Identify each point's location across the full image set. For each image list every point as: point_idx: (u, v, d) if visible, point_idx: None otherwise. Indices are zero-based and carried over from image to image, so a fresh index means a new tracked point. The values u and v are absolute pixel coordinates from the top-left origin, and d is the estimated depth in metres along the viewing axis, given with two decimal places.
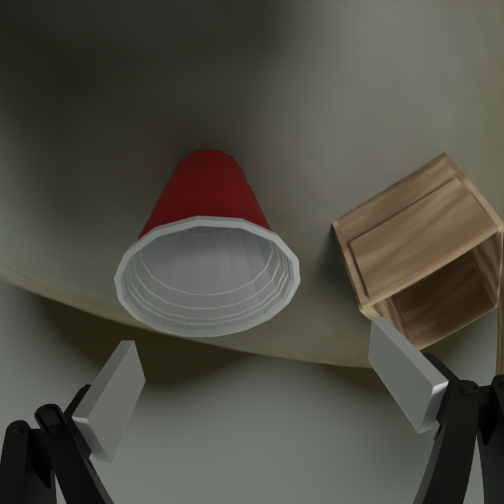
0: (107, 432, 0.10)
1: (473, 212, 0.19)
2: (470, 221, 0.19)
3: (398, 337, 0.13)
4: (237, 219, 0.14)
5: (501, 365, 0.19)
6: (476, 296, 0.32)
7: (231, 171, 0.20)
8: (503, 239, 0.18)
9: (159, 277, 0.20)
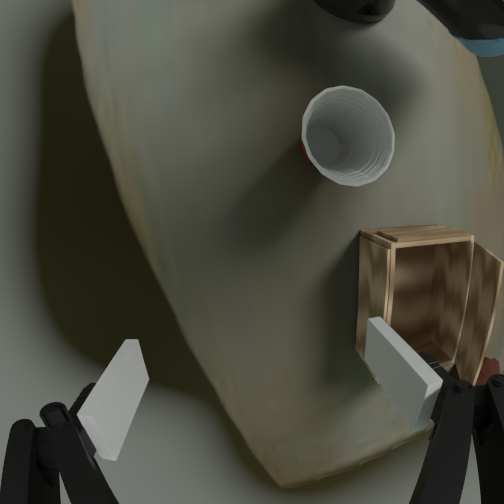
0: (112, 430, 0.10)
1: (456, 230, 0.34)
2: (454, 231, 0.34)
3: (393, 336, 0.13)
4: None
5: (483, 333, 0.26)
6: (435, 354, 0.39)
7: (352, 135, 0.35)
8: (474, 246, 0.32)
9: None
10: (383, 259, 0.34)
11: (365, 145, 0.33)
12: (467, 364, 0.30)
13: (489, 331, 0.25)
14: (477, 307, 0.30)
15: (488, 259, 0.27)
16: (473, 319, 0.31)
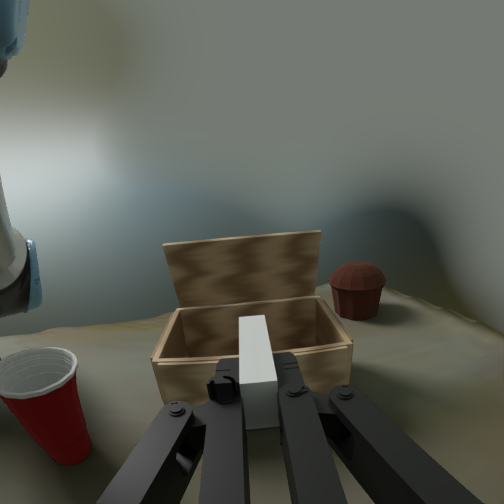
0: None
1: None
2: None
3: (262, 334, 0.15)
4: None
5: (240, 248, 0.36)
6: (318, 320, 0.40)
7: None
8: (184, 305, 0.41)
9: None
10: (173, 373, 0.27)
11: None
12: (291, 261, 0.37)
13: (230, 238, 0.35)
14: (230, 276, 0.38)
15: (175, 271, 0.37)
16: (246, 278, 0.38)
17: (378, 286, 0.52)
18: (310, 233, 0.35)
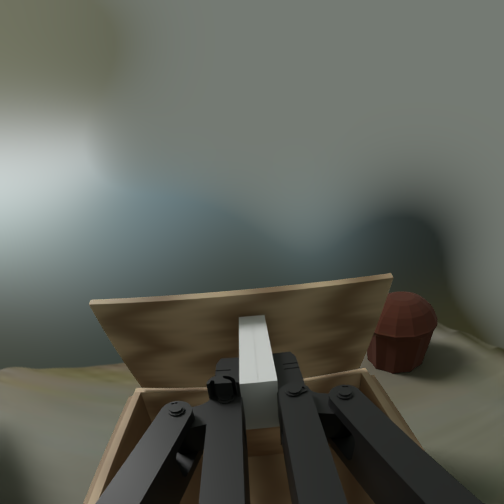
0: None
1: None
2: None
3: (262, 334, 0.15)
4: None
5: (236, 312, 0.17)
6: None
7: None
8: (147, 385, 0.23)
9: None
10: None
11: None
12: (332, 328, 0.19)
13: (215, 295, 0.17)
14: (220, 353, 0.20)
15: (121, 343, 0.19)
16: None
17: (431, 329, 0.34)
18: (374, 281, 0.17)
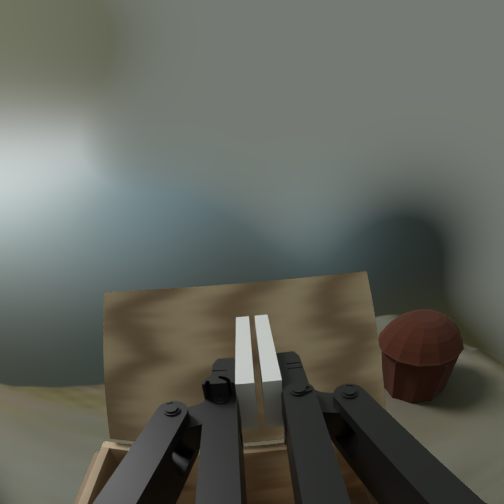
0: None
1: None
2: None
3: (265, 333, 0.15)
4: None
5: (230, 305, 0.19)
6: None
7: None
8: (117, 435, 0.16)
9: None
10: None
11: None
12: (329, 336, 0.19)
13: (213, 286, 0.20)
14: (211, 370, 0.18)
15: (113, 348, 0.18)
16: None
17: (457, 355, 0.27)
18: (350, 275, 0.20)
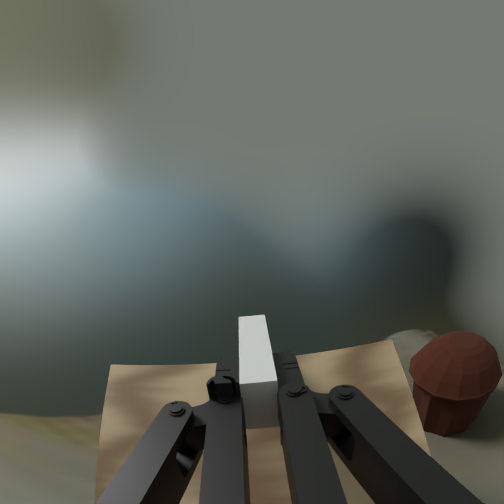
0: None
1: None
2: None
3: (261, 334, 0.15)
4: None
5: None
6: None
7: None
8: None
9: None
10: None
11: None
12: None
13: None
14: None
15: (112, 419, 0.14)
16: (263, 456, 0.13)
17: (497, 383, 0.20)
18: (375, 344, 0.18)
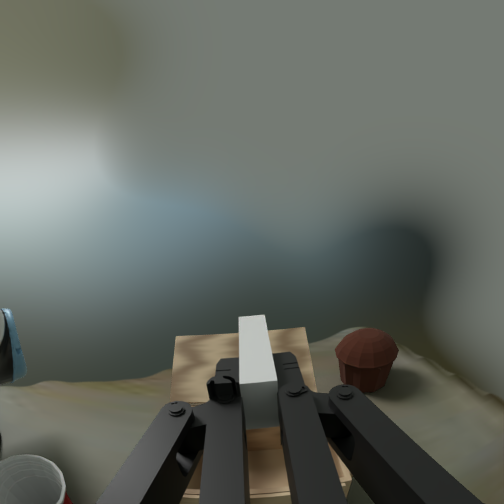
0: None
1: None
2: None
3: (261, 334, 0.15)
4: (25, 456, 0.20)
5: (238, 341, 0.41)
6: None
7: None
8: (174, 399, 0.34)
9: None
10: None
11: (58, 491, 0.20)
12: None
13: (230, 334, 0.42)
14: None
15: (178, 359, 0.39)
16: None
17: (389, 361, 0.44)
18: (295, 328, 0.42)
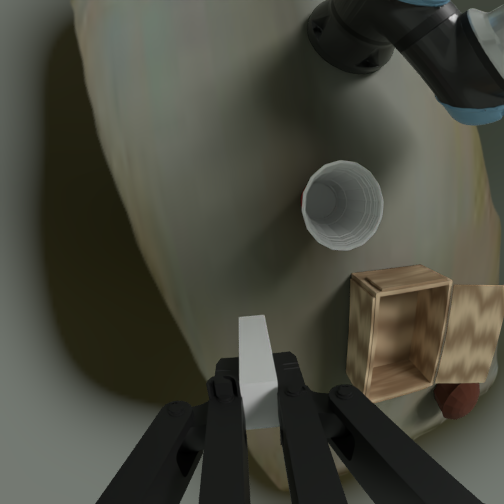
0: None
1: (436, 275, 0.41)
2: (435, 276, 0.40)
3: (261, 334, 0.15)
4: None
5: (492, 337, 0.36)
6: (416, 377, 0.45)
7: (347, 194, 0.42)
8: (455, 289, 0.38)
9: None
10: (369, 305, 0.40)
11: (357, 206, 0.39)
12: (470, 367, 0.39)
13: (499, 331, 0.36)
14: (473, 329, 0.38)
15: (488, 290, 0.36)
16: (468, 339, 0.38)
17: None
18: (486, 376, 0.37)
